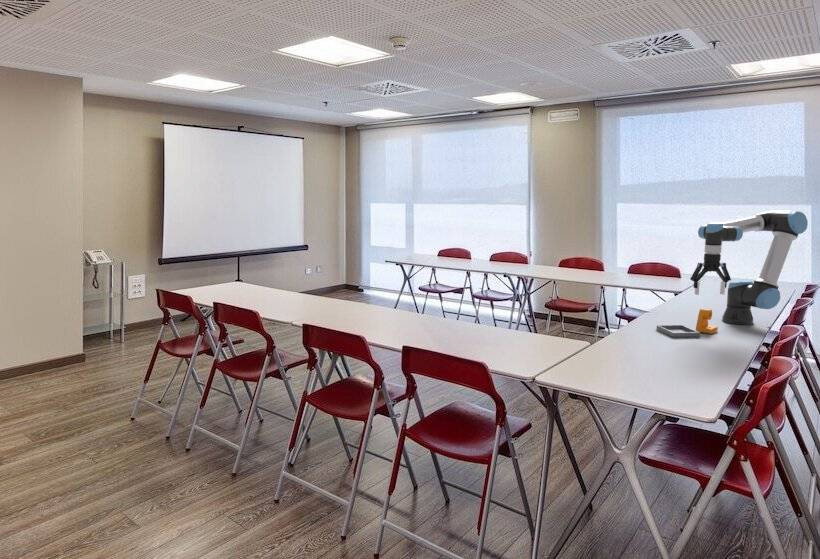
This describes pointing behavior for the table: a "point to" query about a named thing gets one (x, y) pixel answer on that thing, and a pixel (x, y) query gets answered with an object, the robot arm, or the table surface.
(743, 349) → the table surface
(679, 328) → the tray
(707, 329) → the bracket
